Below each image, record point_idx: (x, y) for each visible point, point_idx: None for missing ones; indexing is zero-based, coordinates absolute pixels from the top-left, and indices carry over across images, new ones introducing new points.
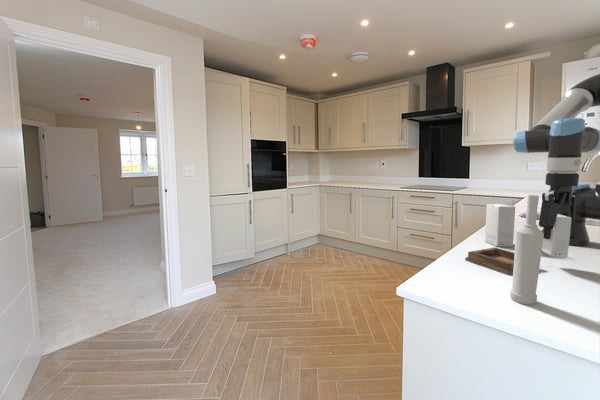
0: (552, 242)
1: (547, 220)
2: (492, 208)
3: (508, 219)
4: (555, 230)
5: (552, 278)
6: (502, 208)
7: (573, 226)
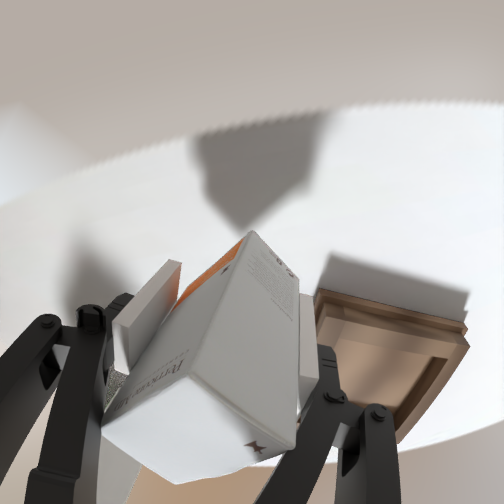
0: (313, 320)
1: (394, 449)
2: None
3: (99, 469)
4: (295, 365)
5: (409, 224)
6: None
7: None
